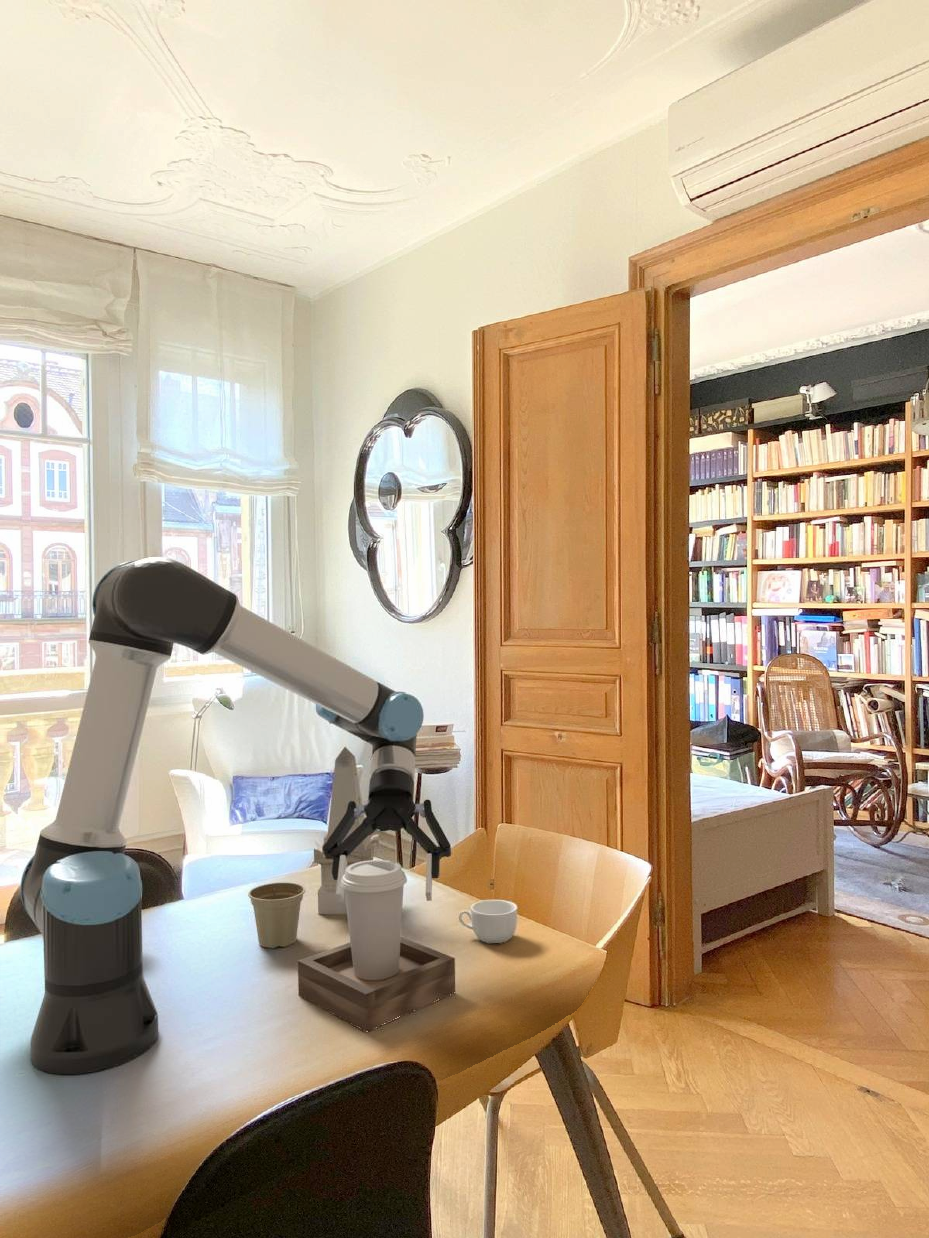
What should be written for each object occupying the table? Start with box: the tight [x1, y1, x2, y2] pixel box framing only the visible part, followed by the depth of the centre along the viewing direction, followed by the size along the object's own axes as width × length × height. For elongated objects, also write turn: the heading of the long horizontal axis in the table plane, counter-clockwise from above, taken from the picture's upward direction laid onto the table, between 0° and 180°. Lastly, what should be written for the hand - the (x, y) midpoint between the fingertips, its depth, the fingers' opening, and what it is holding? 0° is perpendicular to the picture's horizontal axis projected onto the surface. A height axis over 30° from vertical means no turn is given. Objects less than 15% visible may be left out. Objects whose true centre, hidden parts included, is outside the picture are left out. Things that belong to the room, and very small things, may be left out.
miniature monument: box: [313, 746, 380, 915], centre depth 162 cm, size 10×10×30 cm
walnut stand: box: [297, 936, 456, 1032], centre depth 123 cm, size 16×16×5 cm
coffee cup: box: [341, 859, 408, 980], centre depth 124 cm, size 10×10×15 cm
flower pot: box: [247, 881, 306, 949], centre depth 144 cm, size 9×9×9 cm
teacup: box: [458, 899, 518, 944], centre depth 143 cm, size 10×8×5 cm
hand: (384, 897), depth 131 cm, fingers open, 13 cm apart
